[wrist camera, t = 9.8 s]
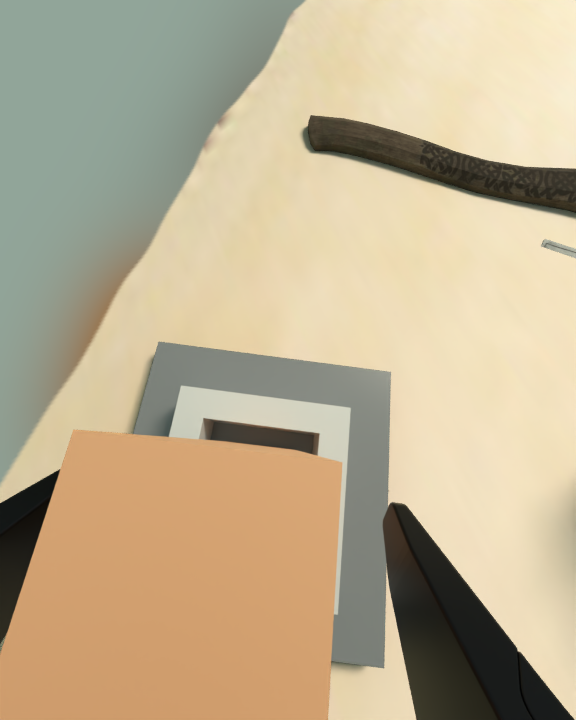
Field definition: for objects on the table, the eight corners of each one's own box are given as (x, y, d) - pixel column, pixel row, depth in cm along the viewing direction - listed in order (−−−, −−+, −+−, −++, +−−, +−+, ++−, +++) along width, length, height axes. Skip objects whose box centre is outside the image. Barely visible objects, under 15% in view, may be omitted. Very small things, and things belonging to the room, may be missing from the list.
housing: (376, 651, 15) (406, 714, 11) (94, 612, 15) (38, 664, 12) (384, 376, 19) (407, 360, 16) (165, 347, 19) (140, 326, 16)
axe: (324, 73, 25) (683, 172, 23) (321, 104, 27) (644, 196, 25) (278, 183, 23) (661, 302, 21) (279, 205, 26) (622, 313, 23)
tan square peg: (286, 526, 15) (319, 857, 3) (213, 517, 16) (-51, 810, 3) (294, 449, 17) (342, 462, 4) (226, 441, 17) (73, 429, 4)
